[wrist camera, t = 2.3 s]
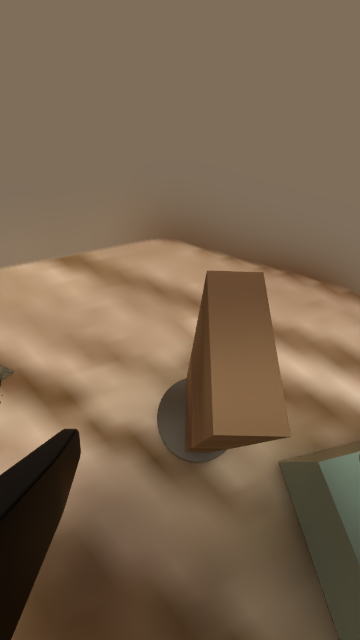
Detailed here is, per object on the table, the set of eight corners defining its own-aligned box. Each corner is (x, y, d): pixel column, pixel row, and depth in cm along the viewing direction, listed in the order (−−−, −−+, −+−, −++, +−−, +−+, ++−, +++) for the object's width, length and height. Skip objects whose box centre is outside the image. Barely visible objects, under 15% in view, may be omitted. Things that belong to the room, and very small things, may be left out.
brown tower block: (236, 462, 16) (388, 467, 5) (155, 460, 16) (119, 462, 5) (230, 382, 19) (323, 260, 7) (160, 381, 19) (142, 254, 7)
